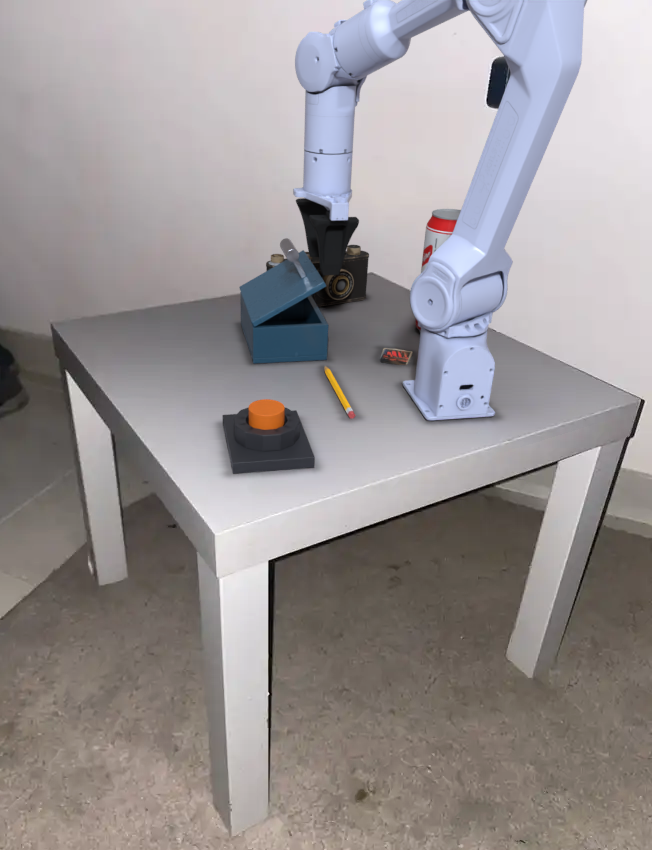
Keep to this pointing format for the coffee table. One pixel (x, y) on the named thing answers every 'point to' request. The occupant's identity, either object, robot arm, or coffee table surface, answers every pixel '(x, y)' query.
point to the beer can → (438, 233)
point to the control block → (266, 444)
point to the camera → (338, 277)
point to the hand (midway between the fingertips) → (323, 265)
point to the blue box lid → (281, 285)
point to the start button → (266, 414)
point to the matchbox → (395, 356)
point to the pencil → (339, 393)
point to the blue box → (287, 334)
